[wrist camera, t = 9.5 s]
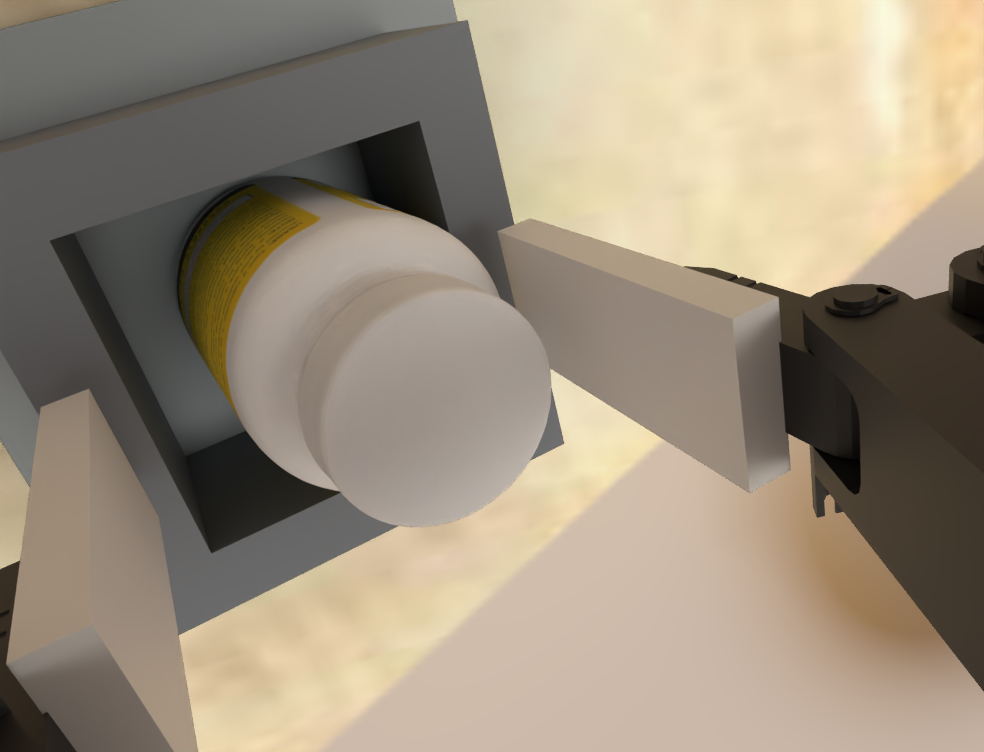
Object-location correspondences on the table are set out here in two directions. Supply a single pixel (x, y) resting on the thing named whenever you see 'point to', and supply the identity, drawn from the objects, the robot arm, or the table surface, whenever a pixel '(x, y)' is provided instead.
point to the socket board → (174, 208)
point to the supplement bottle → (363, 349)
